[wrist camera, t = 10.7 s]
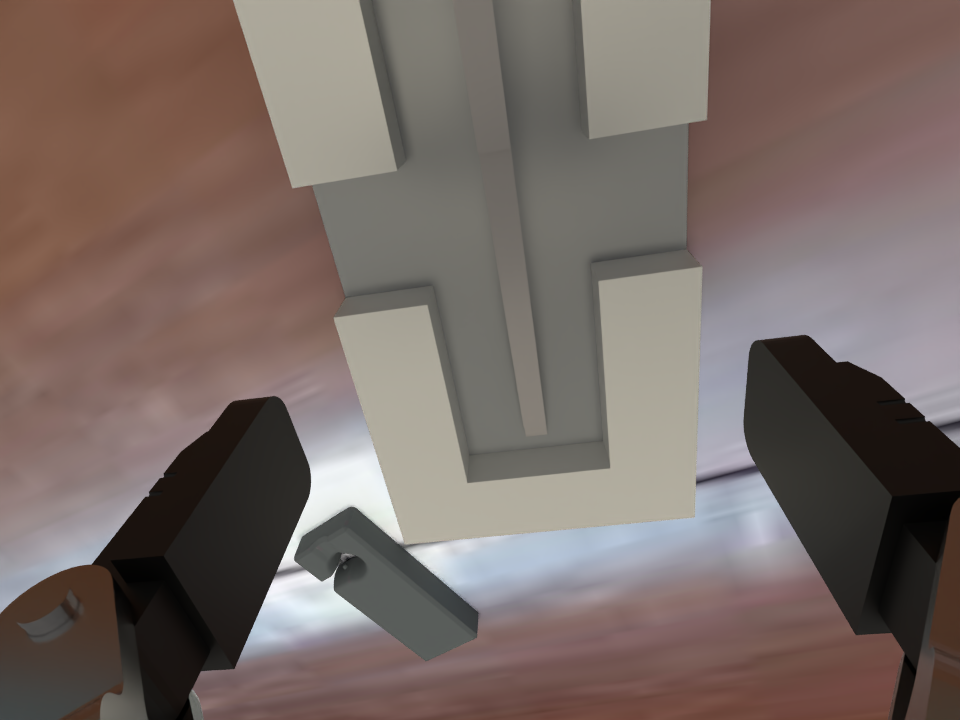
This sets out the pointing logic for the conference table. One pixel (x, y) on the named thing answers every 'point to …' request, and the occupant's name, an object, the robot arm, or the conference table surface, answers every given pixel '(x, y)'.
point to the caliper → (501, 196)
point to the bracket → (388, 584)
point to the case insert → (471, 255)
